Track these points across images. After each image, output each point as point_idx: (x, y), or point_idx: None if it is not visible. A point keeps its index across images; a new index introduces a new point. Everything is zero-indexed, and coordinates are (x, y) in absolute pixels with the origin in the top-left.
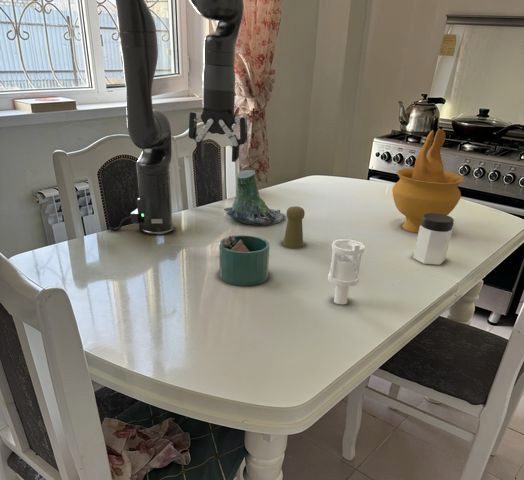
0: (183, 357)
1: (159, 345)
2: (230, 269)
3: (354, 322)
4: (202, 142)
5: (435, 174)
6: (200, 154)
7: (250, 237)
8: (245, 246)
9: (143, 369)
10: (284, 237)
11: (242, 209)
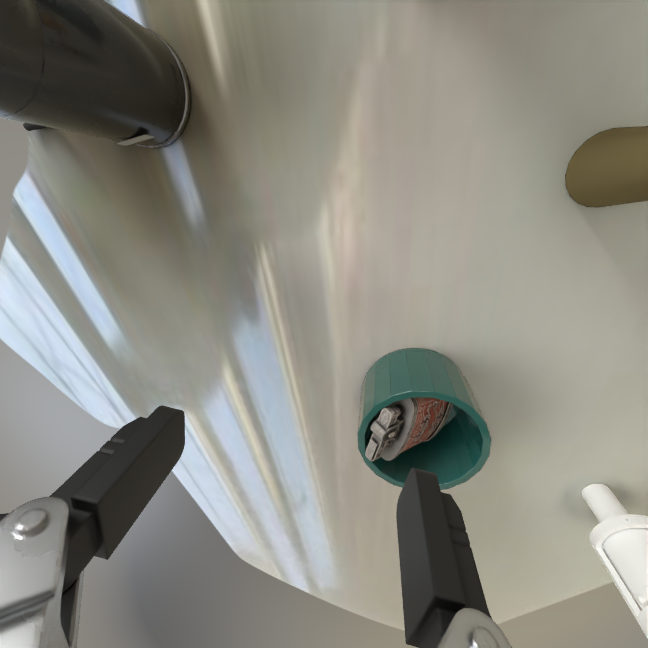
0: (334, 575)
1: (303, 556)
2: None
3: (587, 546)
4: (104, 534)
5: None
6: (163, 470)
7: (442, 399)
8: (424, 401)
9: (298, 584)
10: (584, 174)
11: None
